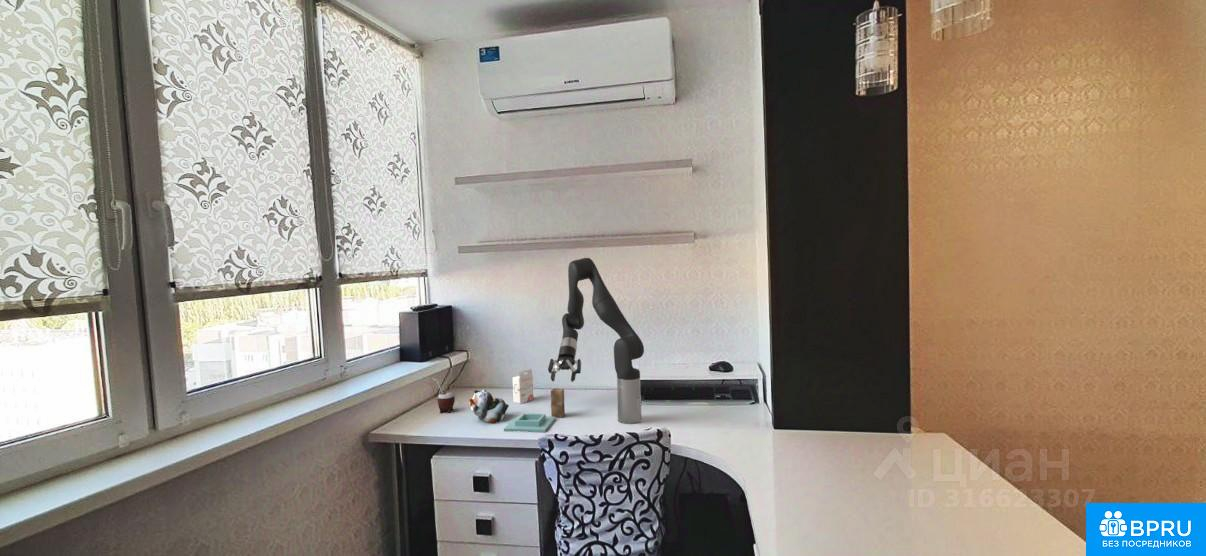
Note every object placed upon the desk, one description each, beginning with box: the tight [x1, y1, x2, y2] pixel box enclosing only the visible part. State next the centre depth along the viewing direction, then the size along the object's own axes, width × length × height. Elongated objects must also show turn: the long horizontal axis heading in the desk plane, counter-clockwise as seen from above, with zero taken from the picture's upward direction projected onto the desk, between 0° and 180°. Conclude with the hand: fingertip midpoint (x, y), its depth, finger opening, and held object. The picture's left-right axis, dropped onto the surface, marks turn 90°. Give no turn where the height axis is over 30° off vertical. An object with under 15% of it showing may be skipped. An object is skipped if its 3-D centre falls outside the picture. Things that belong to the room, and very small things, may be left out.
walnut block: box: [550, 387, 566, 419], centre depth 199 cm, size 4×4×11 cm
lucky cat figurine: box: [468, 389, 509, 424], centre depth 197 cm, size 15×12×14 cm
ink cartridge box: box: [512, 368, 534, 405], centre depth 223 cm, size 9×5×15 cm, turn 143°
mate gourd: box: [431, 377, 456, 414], centre depth 209 cm, size 8×8×15 cm
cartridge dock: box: [503, 412, 557, 433], centre depth 189 cm, size 16×16×3 cm
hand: (562, 380), depth 208 cm, fingers open, 8 cm apart
